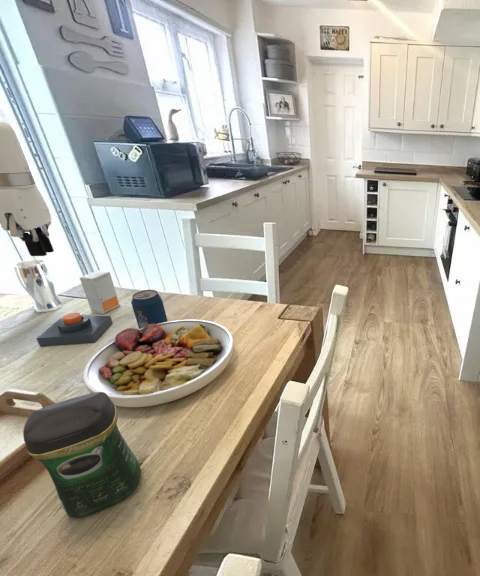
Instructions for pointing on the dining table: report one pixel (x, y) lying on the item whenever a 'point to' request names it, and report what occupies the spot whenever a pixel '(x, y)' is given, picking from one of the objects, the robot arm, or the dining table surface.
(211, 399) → the dining table surface
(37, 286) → the beer glass
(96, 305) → the cosmetic box
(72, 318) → the orange button cap
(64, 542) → the dining table surface
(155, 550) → the dining table surface
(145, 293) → the soda can
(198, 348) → the white plate of food
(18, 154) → the robot arm
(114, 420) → the coffee jar
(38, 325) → the dining table surface
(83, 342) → the button base
